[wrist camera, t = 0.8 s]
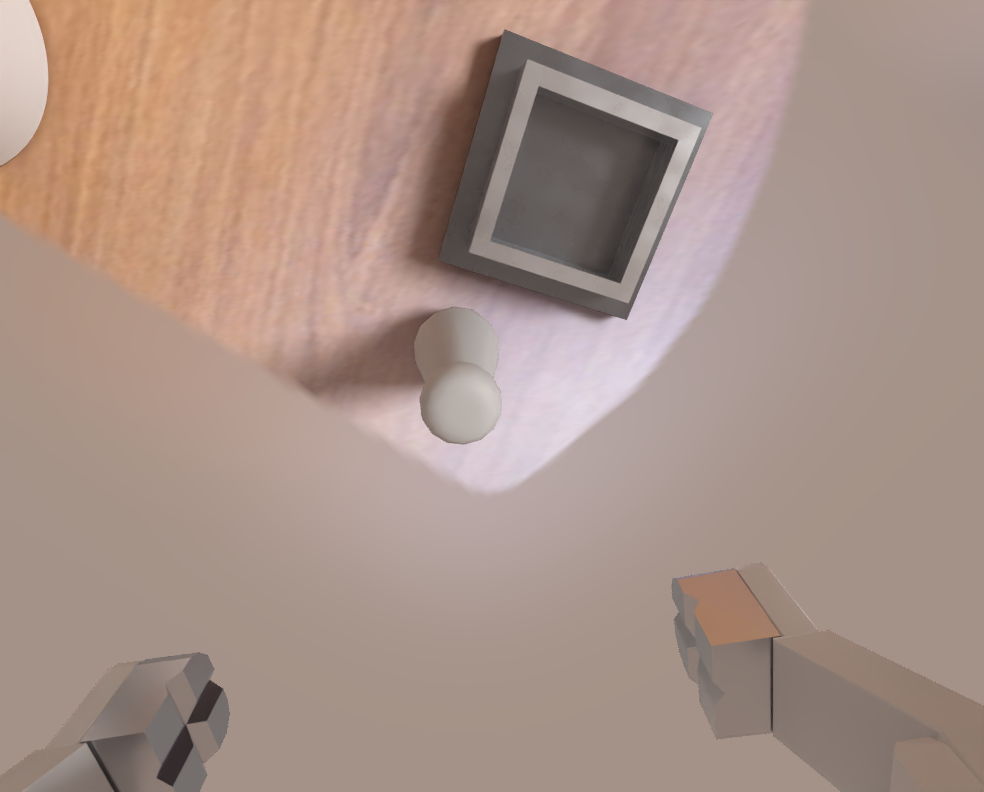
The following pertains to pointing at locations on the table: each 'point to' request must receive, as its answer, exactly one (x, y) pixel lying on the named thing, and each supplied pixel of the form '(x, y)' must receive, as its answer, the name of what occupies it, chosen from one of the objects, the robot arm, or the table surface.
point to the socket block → (570, 177)
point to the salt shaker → (458, 375)
